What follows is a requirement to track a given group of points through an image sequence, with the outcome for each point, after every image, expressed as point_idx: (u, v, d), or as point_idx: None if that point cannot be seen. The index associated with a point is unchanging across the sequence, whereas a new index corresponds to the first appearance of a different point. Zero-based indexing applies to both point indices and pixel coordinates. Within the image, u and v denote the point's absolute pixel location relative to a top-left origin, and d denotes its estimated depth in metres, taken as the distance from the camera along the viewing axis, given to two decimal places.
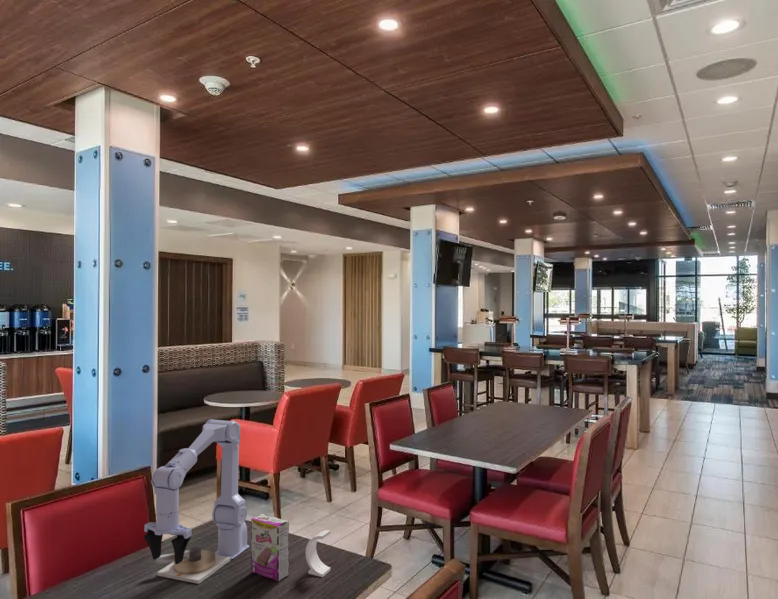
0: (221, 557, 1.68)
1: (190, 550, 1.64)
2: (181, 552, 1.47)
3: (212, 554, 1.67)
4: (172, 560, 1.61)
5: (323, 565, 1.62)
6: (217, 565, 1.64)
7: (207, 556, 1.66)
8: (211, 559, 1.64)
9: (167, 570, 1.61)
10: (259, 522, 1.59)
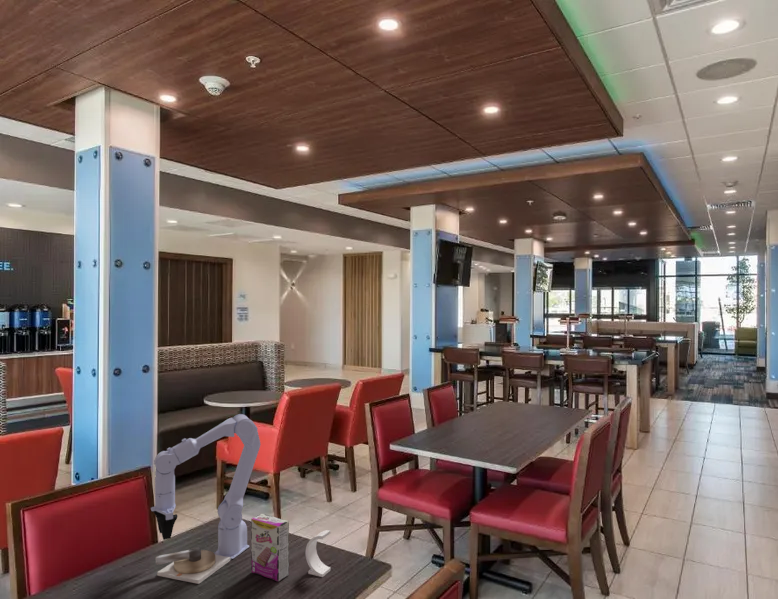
0: (221, 557, 1.68)
1: (190, 550, 1.64)
2: (168, 530, 1.63)
3: (212, 554, 1.67)
4: (172, 560, 1.61)
5: (323, 565, 1.62)
6: (217, 565, 1.64)
7: (207, 556, 1.66)
8: (211, 559, 1.64)
9: (167, 570, 1.61)
10: (259, 522, 1.59)
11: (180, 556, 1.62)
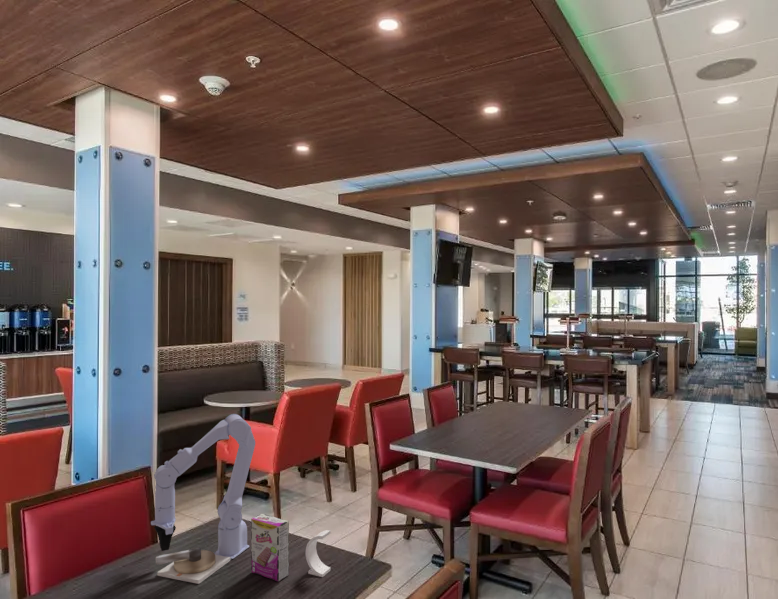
0: (221, 557, 1.68)
1: (190, 550, 1.64)
2: (166, 541, 1.65)
3: (212, 554, 1.67)
4: (172, 560, 1.61)
5: (323, 565, 1.62)
6: (217, 565, 1.64)
7: (207, 556, 1.66)
8: (211, 559, 1.64)
9: (167, 570, 1.61)
10: (259, 522, 1.59)
11: (180, 556, 1.62)
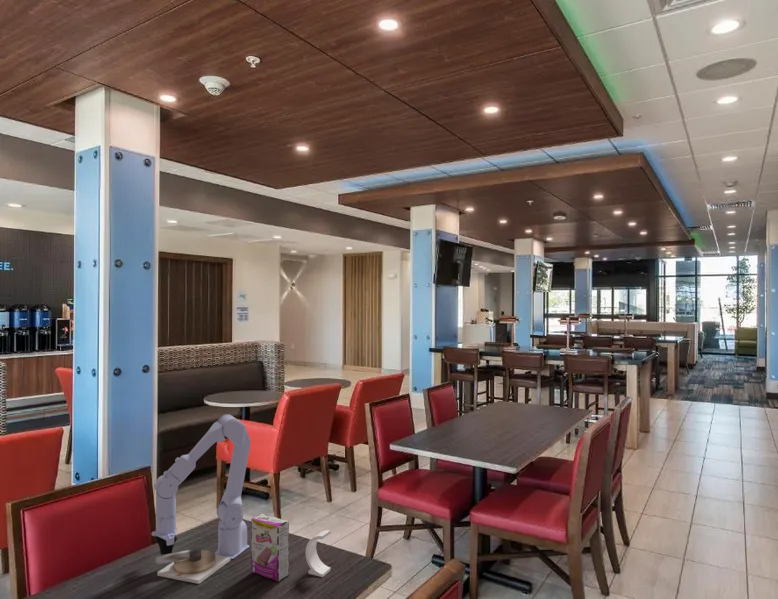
0: (221, 557, 1.68)
1: (190, 550, 1.64)
2: (167, 552, 1.64)
3: (212, 554, 1.67)
4: (172, 560, 1.61)
5: (323, 565, 1.62)
6: (217, 565, 1.64)
7: (207, 556, 1.66)
8: (211, 559, 1.64)
9: (167, 570, 1.61)
10: (259, 522, 1.59)
11: (180, 556, 1.62)
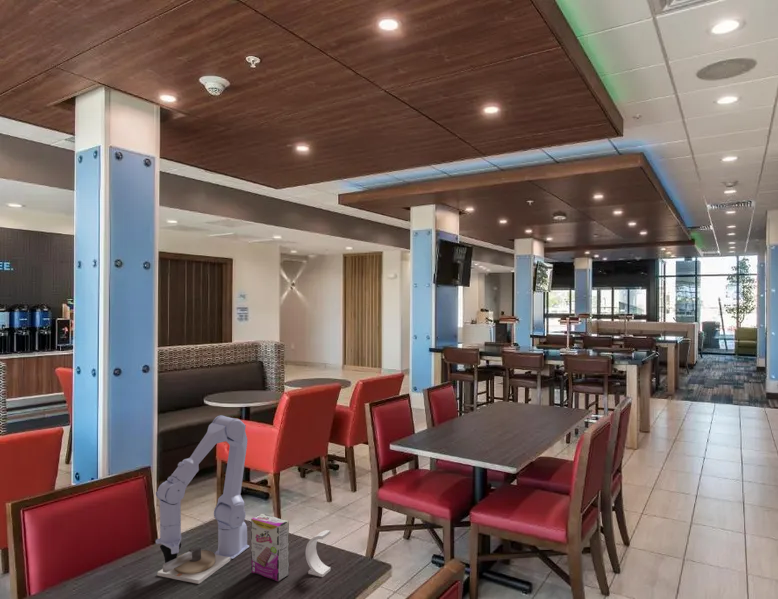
0: (221, 557, 1.68)
1: (191, 551, 1.63)
2: (172, 559, 1.59)
3: (206, 551, 1.69)
4: (179, 564, 1.58)
5: (323, 565, 1.62)
6: (217, 565, 1.64)
7: (204, 554, 1.67)
8: (211, 554, 1.67)
9: None
10: (259, 522, 1.59)
11: (185, 559, 1.60)
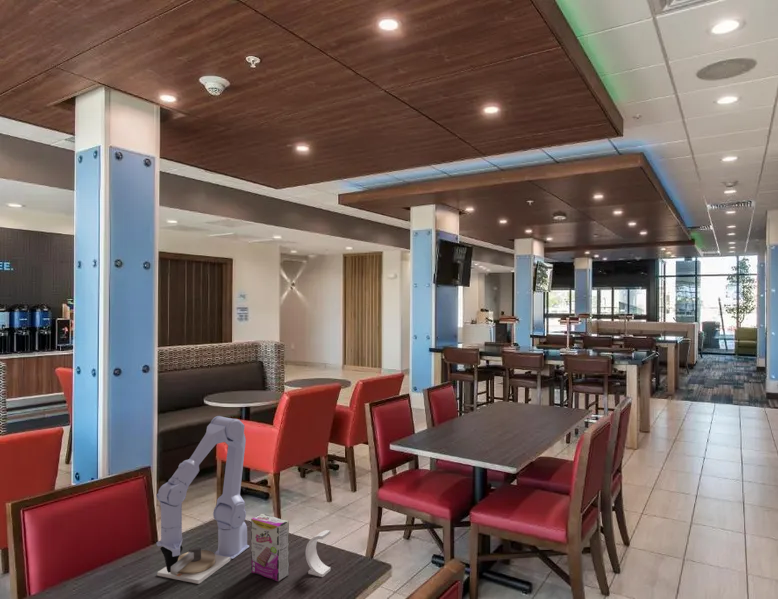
0: (221, 557, 1.68)
1: (192, 551, 1.63)
2: (173, 562, 1.57)
3: (202, 551, 1.70)
4: (184, 565, 1.58)
5: (323, 565, 1.62)
6: (217, 565, 1.64)
7: (201, 553, 1.68)
8: (209, 553, 1.68)
9: None
10: (259, 522, 1.59)
11: (188, 559, 1.60)
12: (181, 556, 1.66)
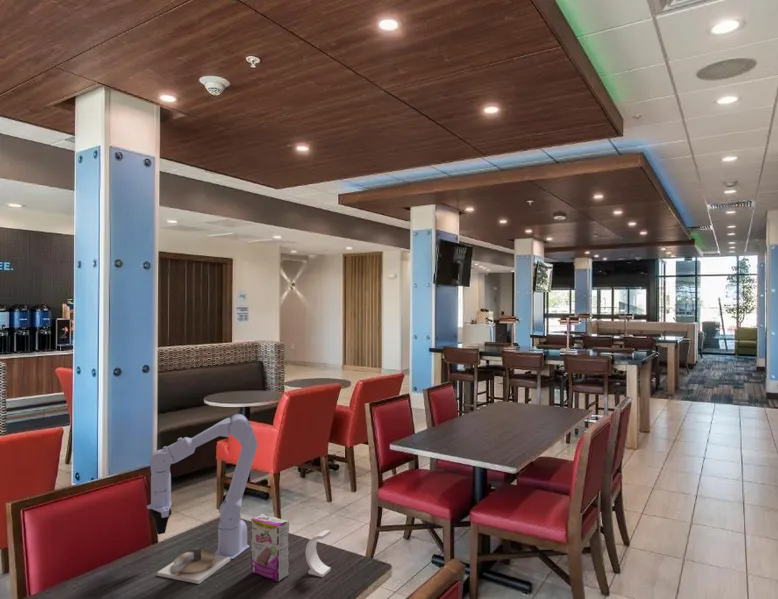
0: (221, 557, 1.68)
1: (192, 551, 1.63)
2: (162, 525, 1.67)
3: (202, 551, 1.70)
4: (184, 565, 1.58)
5: (323, 565, 1.62)
6: (217, 565, 1.64)
7: (201, 553, 1.68)
8: (209, 553, 1.68)
9: (167, 570, 1.61)
10: (259, 522, 1.59)
11: (188, 559, 1.60)
12: (181, 556, 1.66)
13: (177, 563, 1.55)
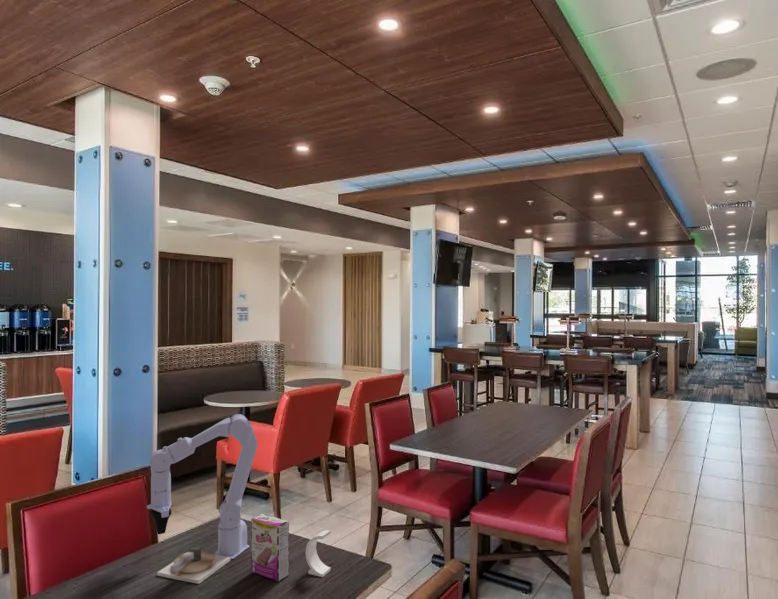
0: (221, 557, 1.68)
1: (192, 551, 1.63)
2: (162, 525, 1.67)
3: (202, 551, 1.70)
4: (184, 565, 1.58)
5: (323, 565, 1.62)
6: (217, 565, 1.64)
7: (201, 553, 1.68)
8: (209, 553, 1.68)
9: (167, 570, 1.61)
10: (259, 522, 1.59)
11: (188, 559, 1.60)
12: (181, 556, 1.66)
13: (177, 563, 1.55)
